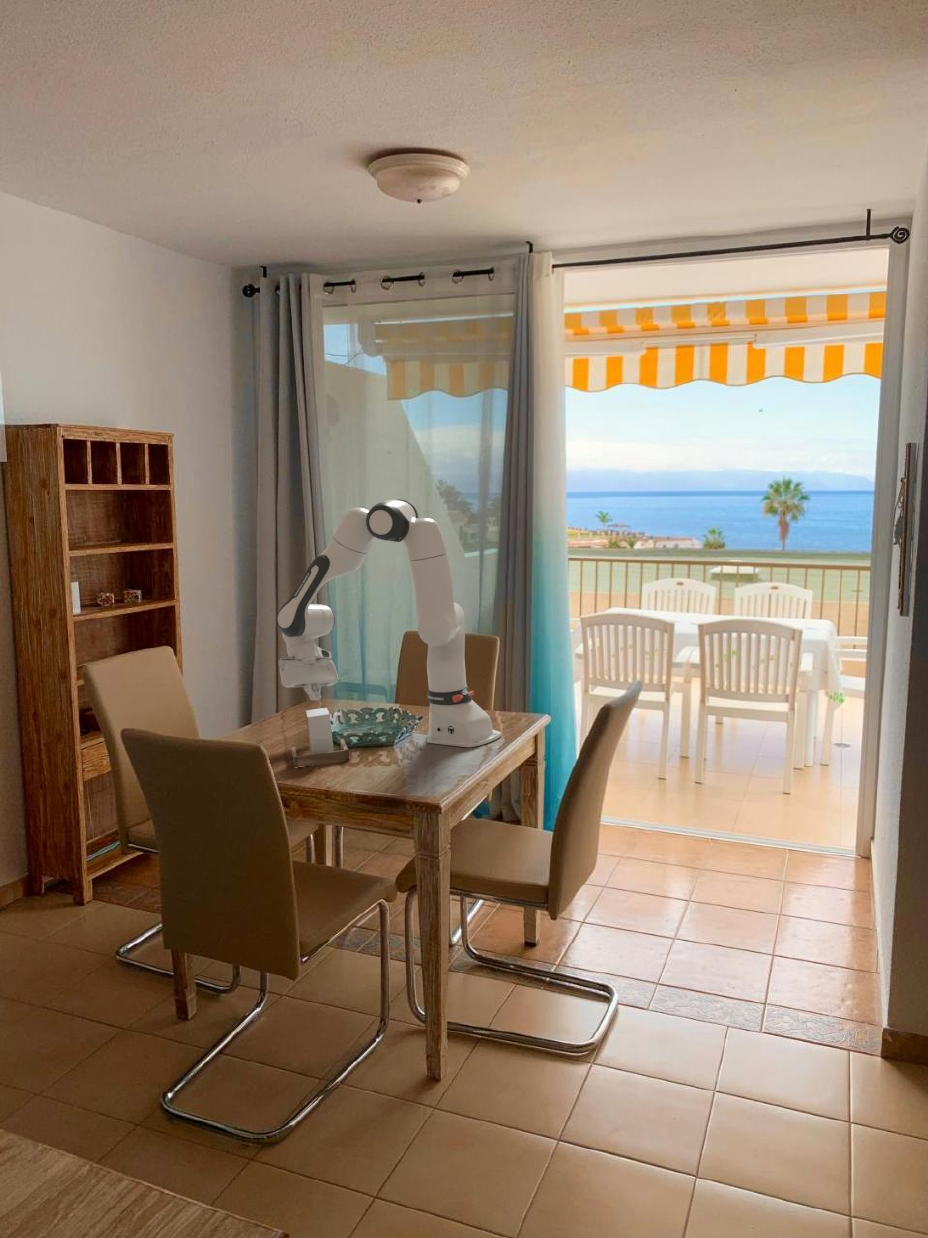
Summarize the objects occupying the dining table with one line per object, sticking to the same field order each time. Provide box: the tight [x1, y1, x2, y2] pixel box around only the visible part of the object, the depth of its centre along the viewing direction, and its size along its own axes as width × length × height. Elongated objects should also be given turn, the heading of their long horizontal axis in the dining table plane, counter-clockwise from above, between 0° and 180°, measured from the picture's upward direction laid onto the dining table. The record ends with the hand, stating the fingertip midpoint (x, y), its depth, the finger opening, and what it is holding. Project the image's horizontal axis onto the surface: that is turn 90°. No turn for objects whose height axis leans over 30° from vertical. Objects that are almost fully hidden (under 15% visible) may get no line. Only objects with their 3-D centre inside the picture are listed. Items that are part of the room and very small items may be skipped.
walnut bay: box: [290, 737, 350, 768], centre depth 270 cm, size 12×15×3 cm
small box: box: [305, 707, 335, 755], centre depth 270 cm, size 8×6×13 cm
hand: (316, 699), depth 285 cm, fingers closed
